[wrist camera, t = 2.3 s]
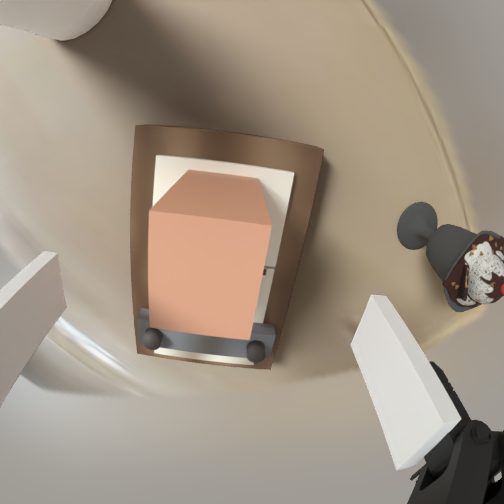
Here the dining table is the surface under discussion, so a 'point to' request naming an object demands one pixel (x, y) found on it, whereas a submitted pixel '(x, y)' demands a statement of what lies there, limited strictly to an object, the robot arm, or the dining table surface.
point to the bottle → (53, 16)
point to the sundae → (457, 257)
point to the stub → (212, 243)
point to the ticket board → (274, 278)
